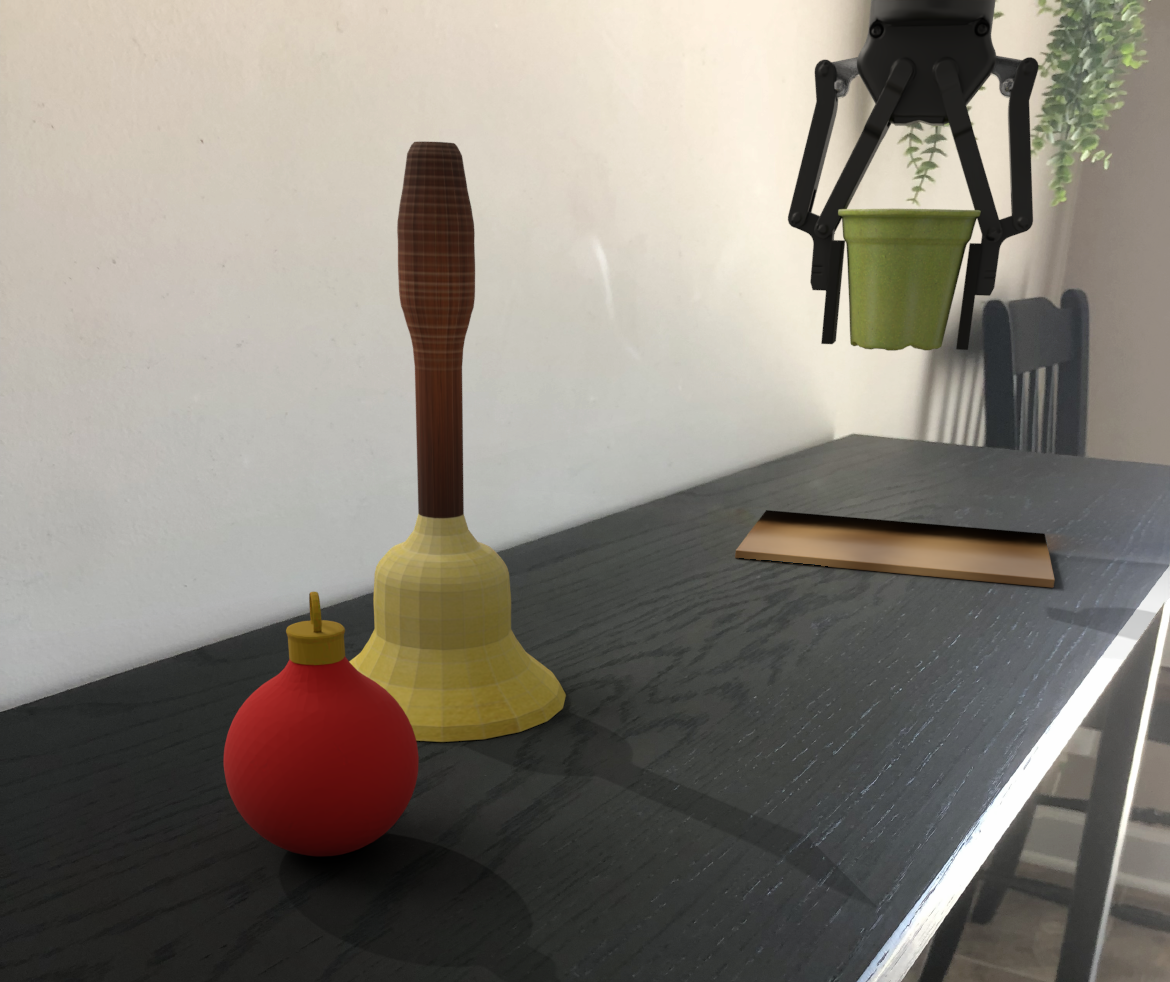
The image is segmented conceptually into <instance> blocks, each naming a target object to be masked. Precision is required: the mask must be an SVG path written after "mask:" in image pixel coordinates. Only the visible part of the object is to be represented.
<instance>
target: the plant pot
mask: <svg viewBox="0 0 1170 982" xmlns="http://www.w3.org/2000/svg"><path fill="white" fill-rule="evenodd" d="M980 212H981V211H980V210H974V209H947V208H944V209H943V208H847V209H839V210H838V215H839V216H841V217H842V219H841V225H842V226H841V227H842V237H843V240H845V246H846V260H847V262H846V263H847V285H848V286H847V287H848V306H849V307H848V308H849V309H848V311H849V313H848V315H849V339H850V341H849V342H850V345H851V346H852V347H859V348H862V349H864V350H884V351H890V352H891V351H894V352H895V351H901V350H904V349H906V348H908V347H912V348H913V349H917V350H922V351H932V350H938V349H940V348H942V346H943V342H944V337H945V333H946V329H947V327H948V326H947V325H948V322H949V317H950V313H951V309H952V306H953V301H954V297H955V292H956V288H957V285H958V281H959V276H960V272H961V268H962V264H963V260H964V256H965V252H966V248H967V245H968V244H969V242H970V241H971V239H972V238H973V237H972V236H973V234H974V233H973V232H974V229H975V225H976V222H977V217H979V216H980Z"/></svg>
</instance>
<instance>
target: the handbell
mask: <svg viewBox="0 0 1170 982" xmlns="http://www.w3.org/2000/svg"><path fill="white" fill-rule="evenodd" d="M405 158H406V160H405V167H404V175H403V183H402V189H401V194H400V199H399V206H398V215H397V222H396V223H397V224H396V225H397V226H396V234H397V275H398V279H397V280H398V296H399V302H400V307H401V309H402V313H403V317H404V321H405V324H406V327H407V331H408V334H409V337H410V340H411V345H412V354H413V362H414V364H413V365H414V389H415V390H414V392H415V393H414V395H415V397H414V398H415V433H416V434H415V435H416V437H415V438H416V472H417V474H416V475H417V504H418V505H417V512H418V514H417V517H416V520H415V524H414V528H413V530H412V532H411V533H410V534H409V536H408V537H407V538H406V540H405V541H403V542H400V543H398V544H395V545H393V546H392V547H390V549H389V550H388V551H387V552H386V553H385V554H384V555H383V556H382V558H381V559H380V560H379V561H378V562H377V565H376V566H375V570H374V574H373V575H374V576H373V577H374V578H373V583H374V584H373V600H372V601H373V619H374V622H373V623H374V629H373V631H372V633H371V635H370V637H369V639H368V640H367V642H366V644H365V645H364V647H363V648H362V649H361V651H360V652H359V653H358V654H356V656H355V657H353V658H352V659H350V660H348V661H349V662H350V663H351V664H352V665H353V666H354V667H355V668H356V669H357V671H359V672H360V673H362V674H363V675H365V676H366V677H368V678H370V679H371V680H373V681H375V682H376V683H378V684H379V685H380V686H382V687H383V688H384V689H385V690H386V691H388V692H389V693H390V694H391V695H392V696H393V698H394V699H395V700H396V701H397V702H398V703H399V705H400V706H401V708H402V709H403V710H404V712H405V714H406V716H407V717H408V719H409V721H410V724H411V726H412V728H413V731H414V734H415V738H416V742H419V741H420V742H436V743H446V742H447V743H449V742H459V741H460V742H462V741H476V740H477V741H478V740H479V741H480V740H487V739H493V738H496V737H502V736H506V735H511V734H516V733H521V732H523V731H527V730H528V729H531V728H533V727H536V726H538V725H541V724H543V723H547V722H548V721H550V720H551V719H552V718H553V717H554V716H555V715H557V714H558V713H559V712H561V711H562V710H563V709H564V705H565V700H566V697H567V694H566V692H565V691H564V689H563V687H562V685H561V683H560V681H559V680H558V679H557V677H556V675H555V674H554V673H553V671H551V670H550V669H548V667H546V666H545V665H544V664H542V663H541V662H540V661H539V660H538V659H535V658H534V657H533V656H532V655H531V654H529V652H527V651H526V650H525V649H524V647H523V646H522V644H521V643H520V641H519V640H518V638H517V637H516V636H515V634H514V632H513V629H512V594H511V580H510V572H509V569H508V568H509V567H508V566H507V564H506V562H505V561H504V560H503V558H502V557H501V556H500V555H499V553H497V551H496V550H495V549H493V548H492V547H491V546H489V545H488V544H485V543H483V542H480V541H478V540H477V539H476V538H475V536H474V535H473V533H472V532H471V531H470V530H469V527H468V523H467V520H466V517H465V516H466V515H465V512H464V511H465V508H464V507H465V506H464V505H465V502H464V501H465V500H464V421H463V420H464V419H463V417H464V414H463V413H464V412H463V405H464V404H463V403H464V401H463V360H464V346H465V340H466V336H467V333H468V329H469V326H470V322H471V317H472V314H473V311H474V308H475V300H476V299H475V298H476V253H475V251H476V250H475V233H476V232H475V222H474V216H473V209H472V208H473V207H472V204H471V203H472V202H471V200H470V193H469V189H468V183H467V178H466V171H465V166H464V159H463V154H462V152H461V150H460V148H459V146H458V145H457V144H456V143H454V142H445V141H414V142H412V143H411V145H410V147H409V149H408V151H407V153H406V157H405Z"/></svg>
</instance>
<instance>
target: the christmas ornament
mask: <svg viewBox="0 0 1170 982" xmlns="http://www.w3.org/2000/svg"><path fill="white" fill-rule="evenodd" d="M308 600H309V601H308V602H309V603H308V604H309V605H308V606H309V618H310V620H301V621H298V622H295V623H291V624H290V625H288V626H287V627H286V630H285V633H286V636H287V645H288V646H287V647H288V658H289V659H288V662H287V663H286V665H285V667H284V668H283V669H282V670H281V671H280V672H279V673H278V674H276V675H275V676H274V677H271V678H270V679H269V680H267V681H266V682H264V683H263V684H261V685H260V686H259V687H258V688H257V689H256V690H254V691H253V692H252V693H251V694H250V695H249V696H248V697H247V698H246V699H245V701H244V702H243V703H242V705H241V706H240V707H239V708H238V710H237V712H236V714H235V715H234V717H233V719H232V721H231V724H230V726H229V729H228V731H227V734H226V739H225V743H224V750H223V771H224V777H225V784H226V786H227V790H228V793H229V795H230V798H231V800H232V801H233V804H234V806H235V808H236V810H237V812H238V814H240V815H241V817H242V818H243V820H244V822H245V823H246V824H248V825H249V827H250V828H252V830H254V831H255V832H256V833H257V834H258V835H259V836H260V837H261V838H263V839H265V840H266V841H267V842H269V843H271V844H272V845H274V846H276V847H279V848H280V849H282V850H285V851H288V852H291V853H294V854H297V855H298V854H299V855H303V856H310V857H334V856H341V855H344V854H348V853H352V852H355V851H358V850H360V849H363V848H364V847H366V846H368V845H370V844H372V843H374V842H376V841H377V840H378V839H379V838H381V837H382V836H384V835H385V834H386V833H387V832H388V831H389V830H390V829H391V828H392V827H393V826H395V824H396V823H397V822H398V820H400V818H401V816H402V815H403V814H404V812H405V810H406V809H407V807H408V805H409V803H410V801H411V799H412V797H413V795H414V791H415V788H416V784H417V780H418V775H419V759H420V757H419V749H418V741H416V738H415V734H414V731H413V728H412V726H411V724H410V721H409V719H408V717H407V716H406V714H405V712H404V710H403V709H402V708H401V706H400V705H399V703H398V702H397V701H396V700H395V699H394V698H393V696H392V695H391V694H390V693H389V692H388V691H386V690H385V689H384V688H383V687H382V686H380V685H379V684H378V683H376V682H375V681H373V680H371V679H370V678H368V677H366V676H365V675H363V674H362V673H360V672H359V671H357V669H356V668H355V667H354V666H353V665H352V664H351V663H350V662H349V661H350V660H349V659H348V658H347V656H346V647H345V633H346V629H345V626H344V625H342V624H341V623H340V622H337V621H333V620H325V619H322V609H321V601H320V594H319V592H318V591H310V592H309V594H308Z"/></svg>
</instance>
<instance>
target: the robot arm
mask: <svg viewBox="0 0 1170 982" xmlns="http://www.w3.org/2000/svg"><path fill="white" fill-rule="evenodd" d="M995 6H996V0H870V7H869V17H868V29H867V36H866V39H865V41H864V44H863V46H862V48H861V50H860V51H859V53H858V55H857V56H856V57H851V58H846V59H841V60H836V61H831V60H829V59H821V60H820V61H818V62H817V63H816V65H815V66H814V84H815V86H814V87H815V100H816V102H815V106H814V110H813V113H812V118H811V122H810V127H809V129H808V133H807V138H806V142H805V145H804V150H803V155H802V157H801V161H800V167H799V170H798V175H797V179H796V183H795V186H794V190H793V194H792V199H791V201H790V202H791V203H790V207H789V211H788V213H787V215H788V216H787V222H788V224H789V226H790V227H792V228H795V229H797V230H799V231H801V232H803V233H806V234H808V235H809V236H810V237H811V239H812V243H813V244H812V245H813V246H812V247H813V248H812V256H811V257H812V258H811V270H810V286H811V289H812V291H825V296H824V298H825V299H824V310H823V319H822V331H821V342H820V343H821V345H833V344H835V343H836V342H837V333H838V322H839V311H840V302H841V291H842V279H843V269H844V257H845V247H846V242H845V240H844V239H843V240H842V239H841V240H840V239H839V240H838V239H835V235H836V231H837V229H838V227H839V225H840V224H841V222H842V217H841V216H839V215H838V210H839V209H849V206H850V204H851V202H852V200H853V198H854V196H855V194H856V192H857V190H858V188H859V187H860V185H861V182H862V180H863V179H864V177H865V175H866V173H867V171H868V169H869V168H870V165H871V163H872V161H873V159H874V157H875V155H876V153H877V151H878V149H879V148H880V146H881V144H882V142H883V140H884V139H885V137H886V135H887V133H888V131H889V130H890V127H891V125H894V126H895V127H908V126H912V125H915V124H917V123H922V124H925V125H928V126H931V127H944V126H945V125H948V126H949V129H950V133H951V136H952V139H953V143H954V145H955V148H956V152H957V156H958V158H959V162H960V166H961V169H962V173H963V177H964V179H965V183H966V186H967V189H968V193H969V196H970V199H971V202H972V206H973V210H980V211H981V212H980V216H979V217H977V219H976V221H977V223H978V226H979V230H980V233H981V238H980V239H981V240H980V243H979V242H977V243H976V242H975V243H974V242H970V243H969V245H968V254H967V260H966V261H967V262H966V267H965V268H966V269H965V275H964V284H963V293H962V298H961V300H962V301H961V308H960V315H959V316H960V317H959V323H958V331H957V338H956V346H955V347H956V348H955V350H960V351H962V350H963V351H968V350H969V344H970V338H971V337H970V336H971V329H972V323H973V322H972V321H973V314H974V307H975V299H976V296H988V297H990V296H992V293H993V291H994V289H995V286H996V279H997V271H998V264H999V258H1000V249H1001V247H1002V244H1003V243H1004V241H1005V240H1007V239H1009V238H1011V237H1013V236H1016V235H1019V234H1022V233H1026V232H1028V231H1029V230H1030V229H1031V228H1032V226H1033V223H1034V209H1033V208H1034V207H1033V178H1032V177H1033V175H1032V174H1033V173H1032V148H1031V147H1032V145H1031V117H1030V116H1031V115H1030V114H1031V113H1030V112H1031V111H1030V99H1031V96H1032V92H1033V89H1034V87H1035V86H1034V85H1035V83H1036V79H1037V76H1038V72H1039V67H1040V66H1039V62H1038V60H1037V59H1036V58H1034V57H1030V56H1028V57H1025V58H1023V59H1019V58H1013V57H1012V58H1011V57H1007V56H1001V55H997V52H996V49H995V47H994V44H993V38H992V30H993V25H994V24H993V23H994V15H995ZM990 76H993V77H995V78H996V79H997V81H998V90H999V94H1000V96H1002V97H1003V98H1005V99H1008V104H1007V129H1008V130H1007V131H1008V157H1009V158H1008V159H1009V181H1010V182H1009V185H1010V209H1011V210H1010V213H1011V215H1010V216H1009V215H1008V216H1006V217H1003V218H1000V217H999V213H998V211H997V207H996V204H995V200H994V197H993V194H992V191H991V187H990V184H989V181H988V177H987V173H986V170H985V167H984V163H983V159H982V156H981V152H980V149H979V145H978V142H977V139H976V135H975V132H974V128H973V124H972V121H971V118H970V114H969V110H968V107H967V106H968V105H969V103H970V102H971V101H972V100H973V98H974V97H975V96H976V94H977V93H978V92H979V91H980V89H981V88H982V86H983V85H984V84H985V83H986V81H988V79H990ZM857 77H860V78H861V81H862V82H863V84H864V87H865V88H866V90H867V91H868V93H869V95H870V97H871V99H872V100H873V103H874V106H873V108H872V110H871V112H870V114H869V116H868V118H867V120H866V122H865V124H864V126H863V129H862V132H861V133H860V135H859V137H858V139H857V142H856V143H855V145H854V147H853V149H852V151H851V153H850V156H849V157H848V159H847V161H846V163H845V165H844V167H843V169H842V171H841V173H840V175H839V177H838V178H837V181H836V183H835V185H834V187H833V189H832V190H831V193H830V195H829V197H828V199H827V201H826V202H825V204H824V206H823V209H822V210H821V213H820V214H816V213H814V212H813V209H814V204H815V201H816V197H817V193H818V189H819V184H820V180H821V177H822V173H823V169H824V165H825V160H826V157H827V153H828V149H829V145H830V142H831V138H832V134H833V130H834V126H835V122H836V119H837V113H838V107H839V100H840V99H844V98H845V97H846V96H847V95H848V94H849V92H850V88H851V84H852V82H853V80H854V79H856V78H857Z"/></svg>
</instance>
